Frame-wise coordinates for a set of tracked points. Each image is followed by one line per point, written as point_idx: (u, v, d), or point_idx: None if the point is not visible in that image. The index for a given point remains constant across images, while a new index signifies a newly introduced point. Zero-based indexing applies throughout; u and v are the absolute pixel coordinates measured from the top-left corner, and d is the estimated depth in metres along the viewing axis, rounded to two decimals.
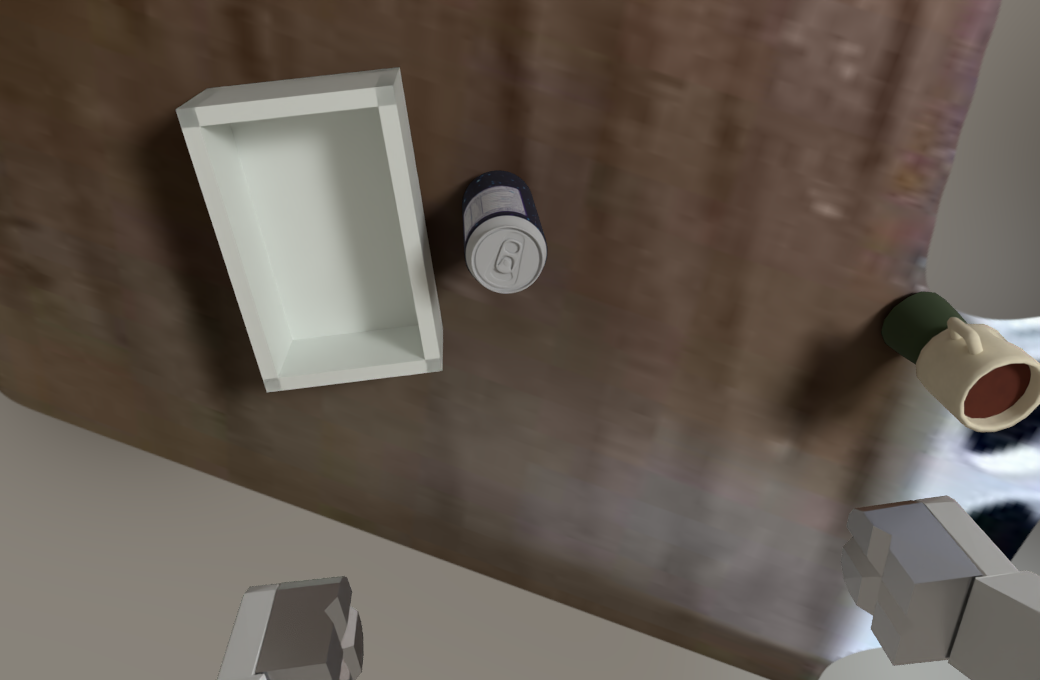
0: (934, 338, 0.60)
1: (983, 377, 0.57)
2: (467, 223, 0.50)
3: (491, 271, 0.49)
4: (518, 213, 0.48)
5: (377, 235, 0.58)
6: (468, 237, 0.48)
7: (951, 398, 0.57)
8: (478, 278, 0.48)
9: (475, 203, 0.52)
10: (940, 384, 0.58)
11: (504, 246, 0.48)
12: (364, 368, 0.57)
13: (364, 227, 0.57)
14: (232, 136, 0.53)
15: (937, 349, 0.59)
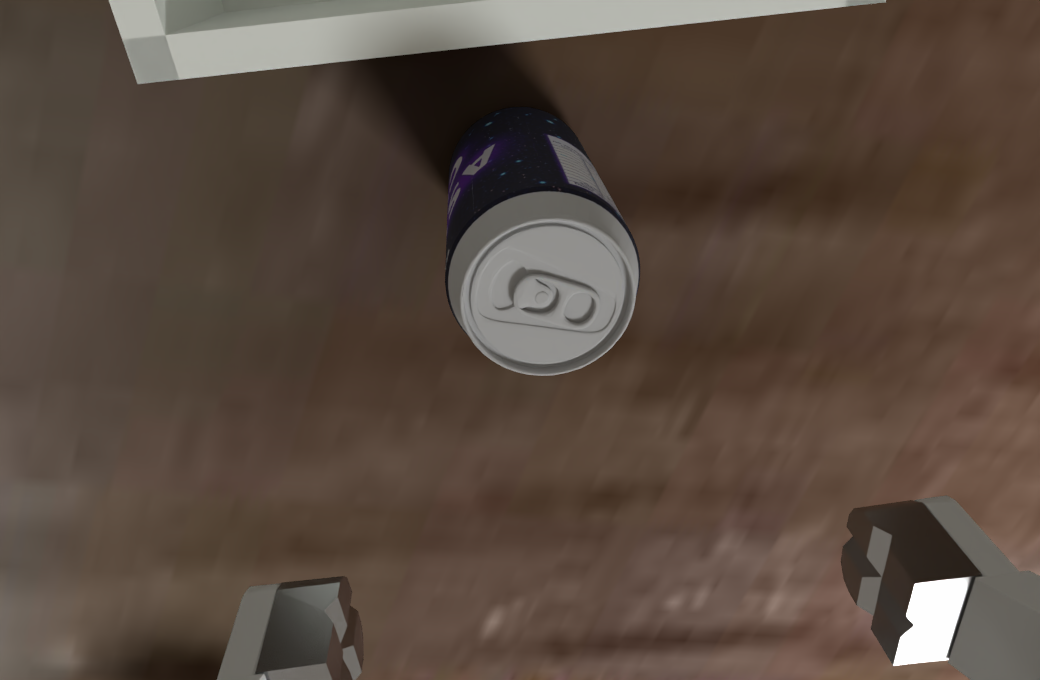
0: None
1: None
2: (578, 169, 0.22)
3: (517, 262, 0.19)
4: None
5: None
6: (590, 196, 0.20)
7: None
8: (502, 234, 0.19)
9: (594, 172, 0.24)
10: None
11: (583, 293, 0.20)
12: None
13: None
14: None
15: None
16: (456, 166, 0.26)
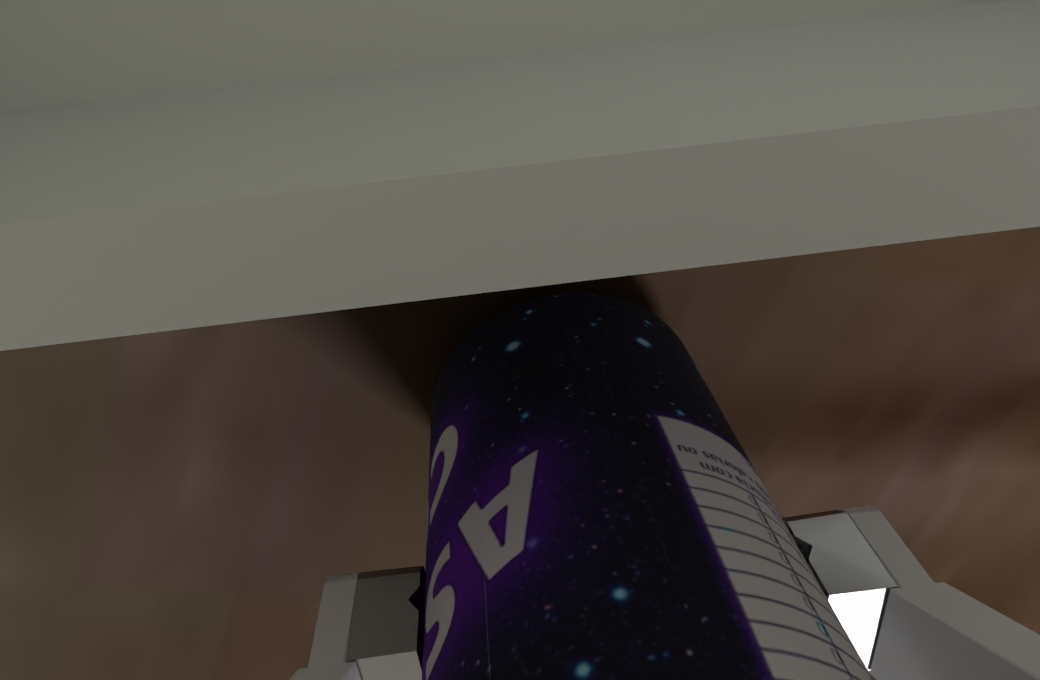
0: None
1: None
2: (784, 606, 0.08)
3: None
4: None
5: None
6: None
7: None
8: None
9: (783, 528, 0.10)
10: None
11: None
12: None
13: None
14: None
15: None
16: (445, 451, 0.12)
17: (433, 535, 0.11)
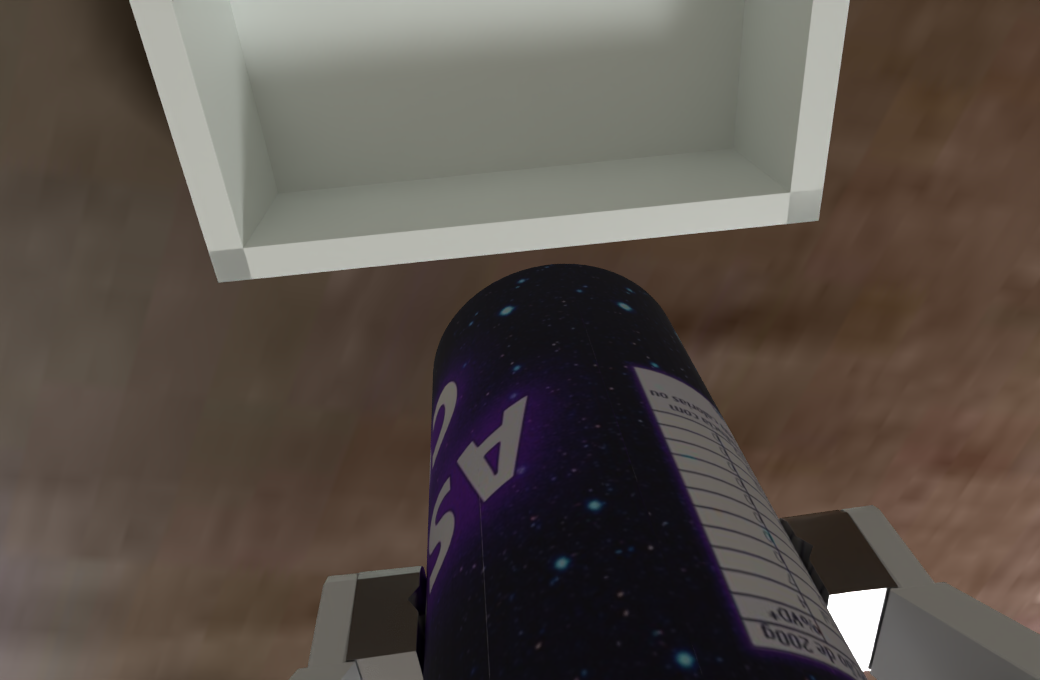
0: None
1: None
2: (735, 516, 0.09)
3: None
4: None
5: (471, 109, 0.29)
6: None
7: None
8: None
9: (743, 462, 0.11)
10: None
11: None
12: (199, 106, 0.23)
13: (487, 85, 0.29)
14: None
15: None
16: (446, 404, 0.13)
17: (435, 475, 0.12)
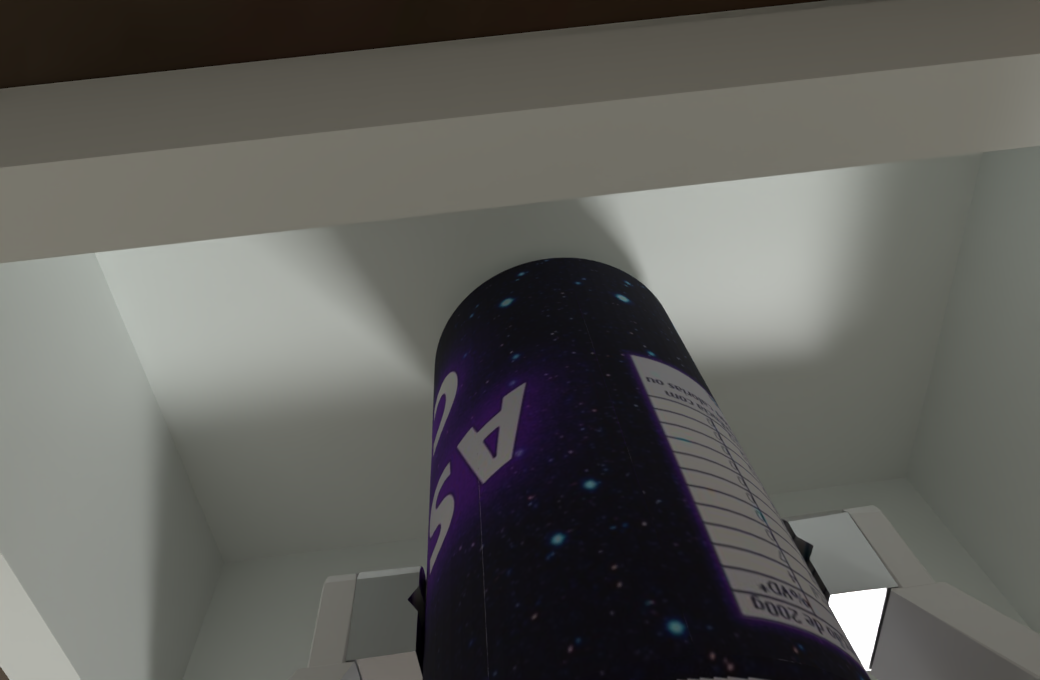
0: None
1: None
2: (727, 496, 0.09)
3: None
4: None
5: None
6: (807, 670, 0.07)
7: None
8: None
9: (737, 447, 0.11)
10: None
11: None
12: (44, 629, 0.13)
13: None
14: None
15: None
16: (446, 393, 0.14)
17: (436, 461, 0.12)
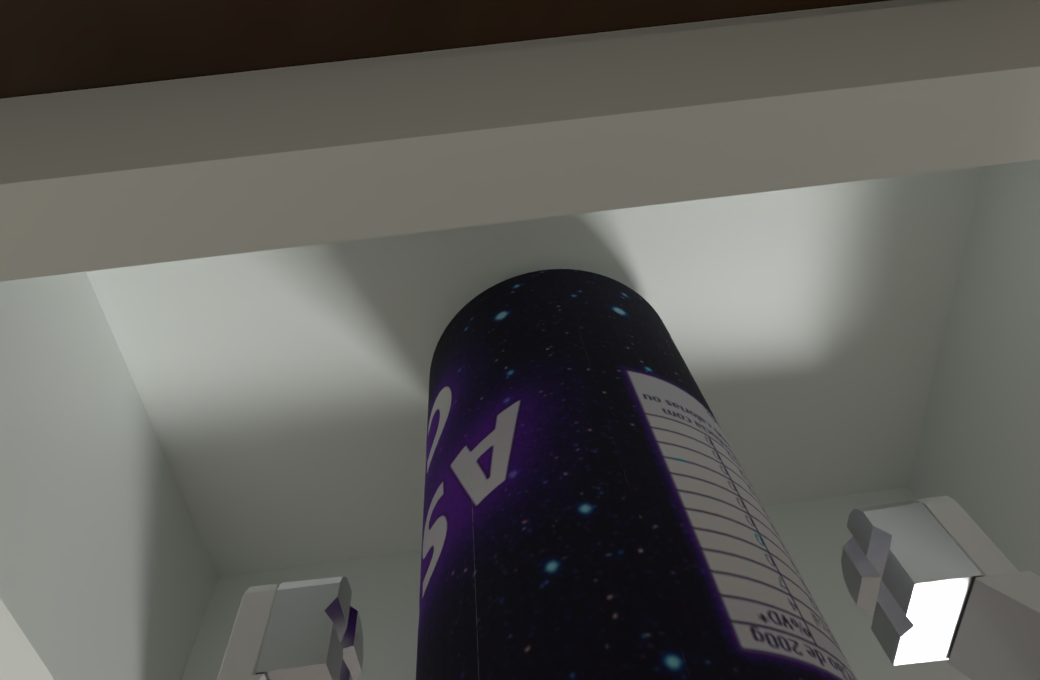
0: None
1: None
2: (726, 519, 0.09)
3: None
4: None
5: None
6: None
7: None
8: None
9: (736, 466, 0.11)
10: None
11: None
12: (30, 652, 0.12)
13: None
14: None
15: None
16: (440, 409, 0.13)
17: (429, 480, 0.12)
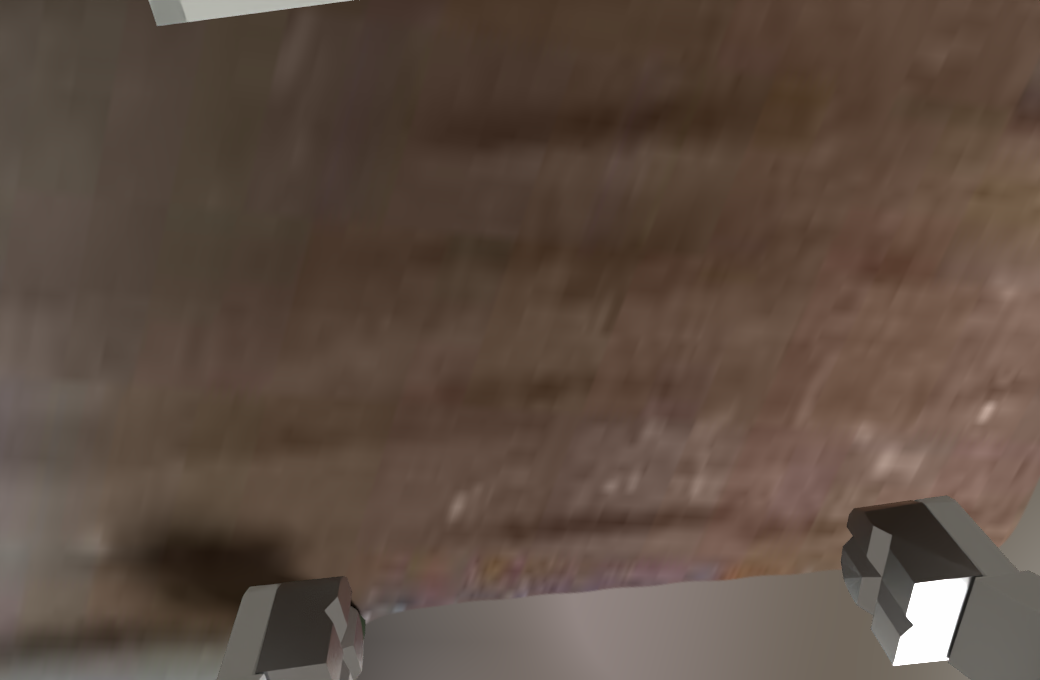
0: None
1: None
2: None
3: None
4: None
5: None
6: None
7: None
8: None
9: None
10: None
11: None
12: None
13: None
14: None
15: None
16: None
17: None
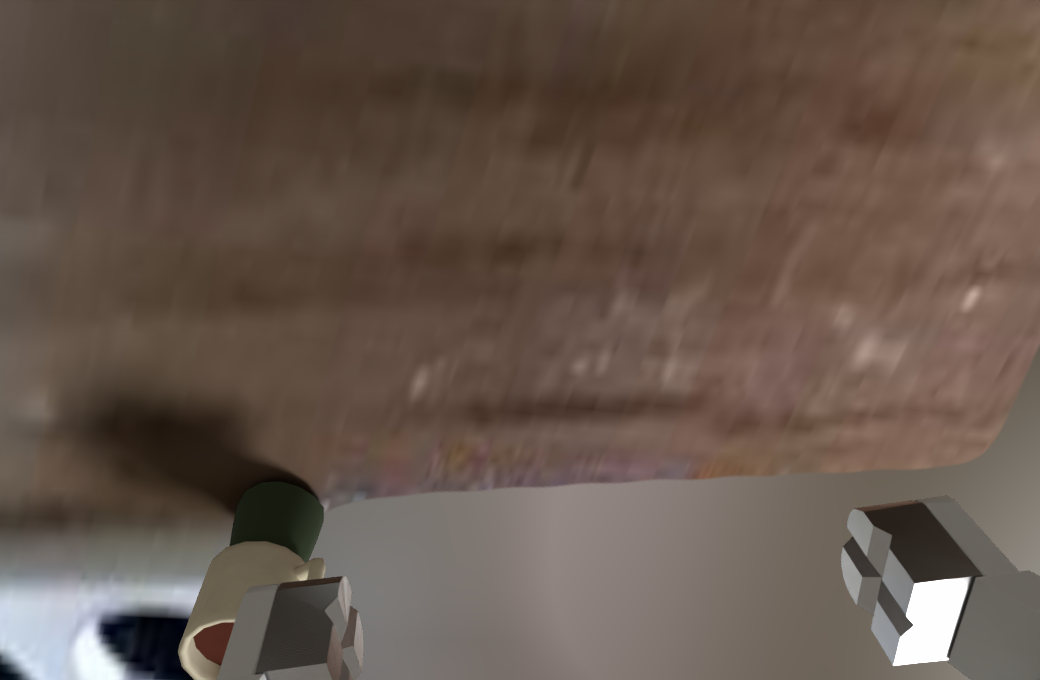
0: (286, 550, 0.47)
1: None
2: None
3: None
4: None
5: None
6: None
7: (221, 605, 0.42)
8: None
9: None
10: (234, 584, 0.43)
11: None
12: None
13: None
14: None
15: (276, 560, 0.46)
16: None
17: None
